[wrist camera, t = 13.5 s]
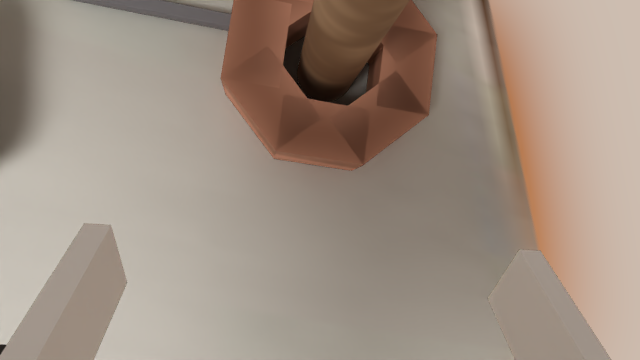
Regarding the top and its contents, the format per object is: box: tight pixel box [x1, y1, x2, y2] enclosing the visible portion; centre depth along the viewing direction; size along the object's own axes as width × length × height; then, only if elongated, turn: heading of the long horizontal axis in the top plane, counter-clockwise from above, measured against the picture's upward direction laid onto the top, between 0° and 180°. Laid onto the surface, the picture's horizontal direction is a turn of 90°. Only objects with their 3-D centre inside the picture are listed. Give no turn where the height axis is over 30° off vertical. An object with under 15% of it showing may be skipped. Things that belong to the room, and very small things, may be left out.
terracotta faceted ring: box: [221, 0, 437, 171], centre depth 23 cm, size 12×12×3 cm
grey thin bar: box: [74, 0, 231, 31], centre depth 23 cm, size 10×1×1 cm, turn 82°
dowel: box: [297, 0, 410, 102], centre depth 17 cm, size 4×4×16 cm
